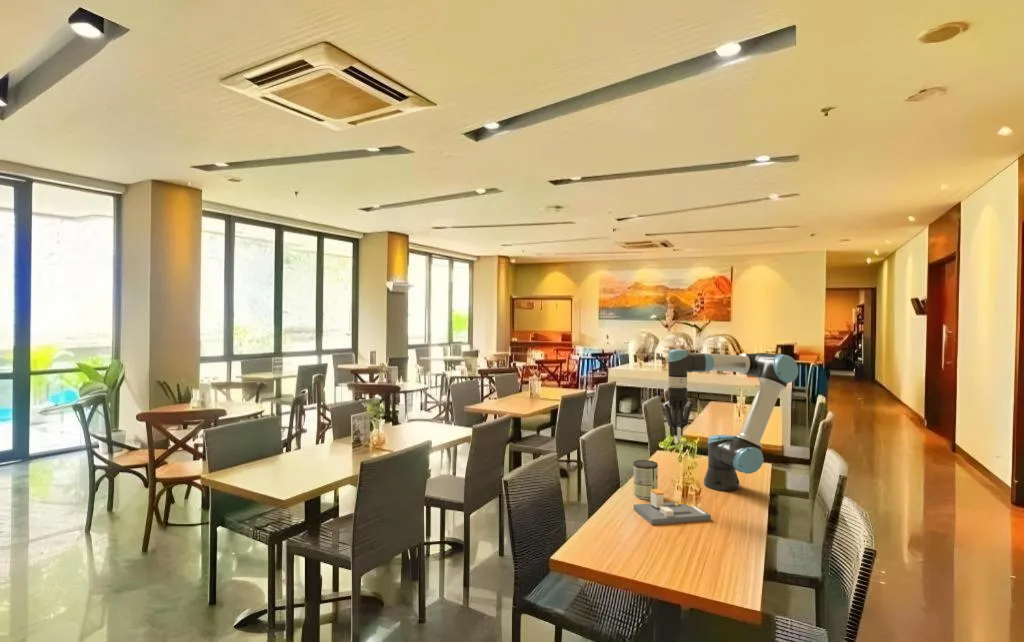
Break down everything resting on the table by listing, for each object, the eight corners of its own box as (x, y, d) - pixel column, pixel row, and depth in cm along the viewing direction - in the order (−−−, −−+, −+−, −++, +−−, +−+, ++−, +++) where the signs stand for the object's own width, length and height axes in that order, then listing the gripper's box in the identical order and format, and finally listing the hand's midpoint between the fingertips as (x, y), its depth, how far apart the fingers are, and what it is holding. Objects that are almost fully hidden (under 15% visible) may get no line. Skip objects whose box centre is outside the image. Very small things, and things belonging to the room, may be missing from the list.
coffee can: (631, 491, 238) (631, 459, 238) (655, 492, 237) (655, 460, 237) (634, 499, 227) (634, 465, 227) (659, 500, 226) (659, 466, 226)
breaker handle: (657, 503, 215) (657, 488, 215) (663, 507, 210) (663, 492, 210) (650, 503, 215) (650, 489, 215) (656, 508, 210) (656, 493, 210)
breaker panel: (688, 505, 220) (689, 495, 220) (710, 520, 204) (710, 509, 204) (633, 509, 215) (633, 499, 215) (651, 524, 199) (651, 514, 199)
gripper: (667, 388, 220) (667, 446, 220) (696, 387, 222) (696, 444, 222) (659, 385, 227) (659, 441, 227) (687, 385, 230) (687, 440, 230)
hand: (677, 443), depth 225 cm, fingers closed
